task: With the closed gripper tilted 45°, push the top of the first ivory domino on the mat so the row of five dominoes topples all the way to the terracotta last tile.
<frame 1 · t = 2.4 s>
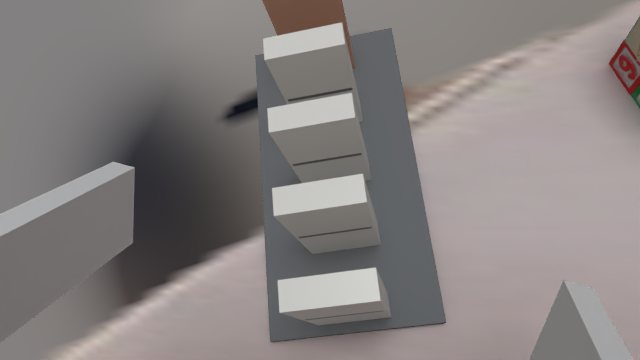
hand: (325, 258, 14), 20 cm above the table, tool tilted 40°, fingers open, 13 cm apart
domino 4: (330, 118, 38), point 1 cm above the table, touching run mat
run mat: (338, 172, 37), on the table
domino 2: (344, 238, 34), point 1 cm above the table, touching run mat
domino 5: (324, 66, 40), point 1 cm above the table, touching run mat
domino 1: (353, 309, 32), point 1 cm above the table, touching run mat
domino 3: (337, 175, 36), point 1 cm above the table, touching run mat
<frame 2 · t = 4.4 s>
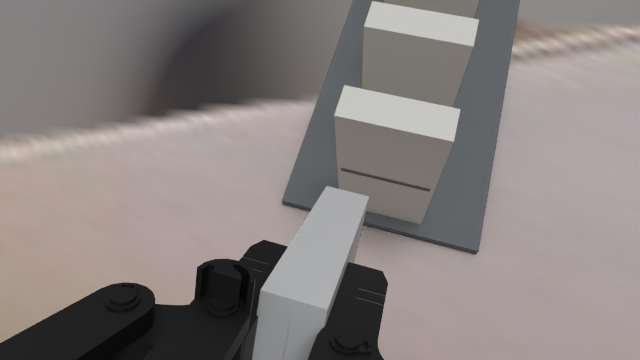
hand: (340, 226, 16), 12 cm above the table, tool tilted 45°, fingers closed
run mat: (416, 73, 33), on the table
domino 2: (400, 133, 31), point 1 cm above the table, touching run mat
domino 1: (382, 202, 29), point 1 cm above the table, touching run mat
domino 3: (416, 73, 33), point 1 cm above the table, touching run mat
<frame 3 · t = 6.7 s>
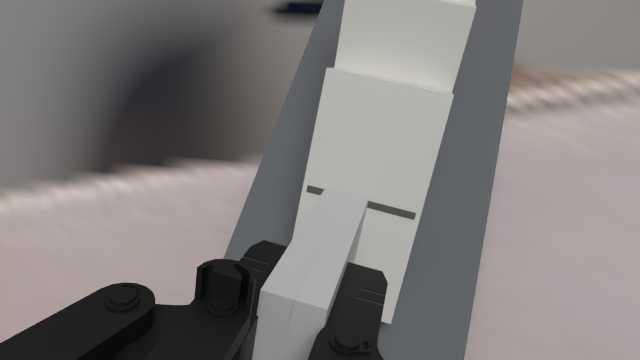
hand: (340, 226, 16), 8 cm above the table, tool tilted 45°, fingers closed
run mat: (387, 128, 26), on the table
domino 2: (364, 204, 23), point 1 cm above the table, tilted 38°, touching domino 3, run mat
domino 1: (338, 299, 21), point 1 cm above the table, tilted 51°
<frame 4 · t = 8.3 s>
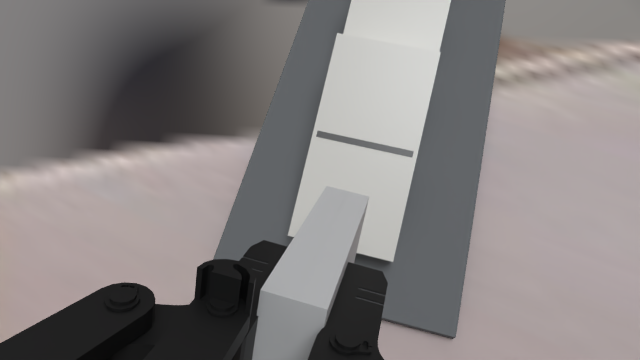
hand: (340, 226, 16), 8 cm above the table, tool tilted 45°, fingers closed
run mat: (380, 101, 27), on the table
domino 2: (364, 157, 24), point 1 cm above the table, tilted 72°, touching domino 1, domino 3, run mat
domino 1: (340, 247, 22), point 1 cm above the table, tilted 71°, touching domino 2, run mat
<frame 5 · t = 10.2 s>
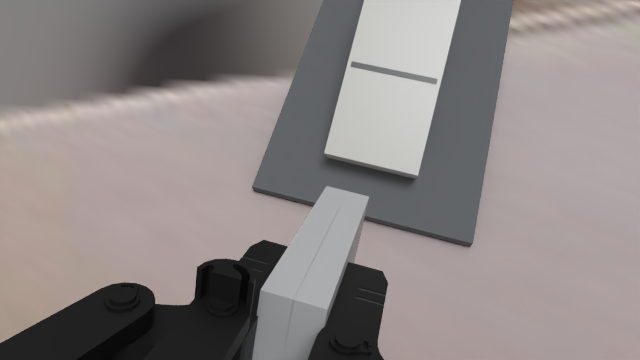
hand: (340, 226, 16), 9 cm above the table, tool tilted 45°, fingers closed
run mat: (404, 47, 30), on the table
domino 1: (370, 166, 25), point 1 cm above the table, tilted 71°, touching domino 2, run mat
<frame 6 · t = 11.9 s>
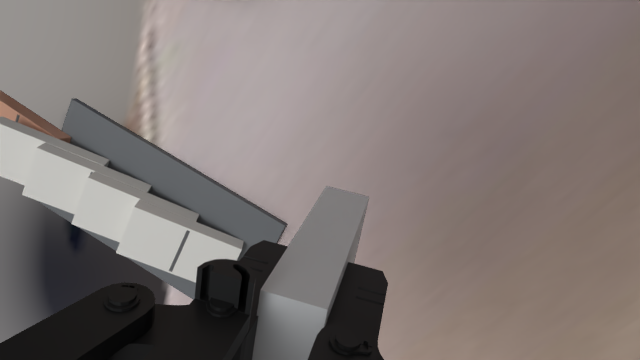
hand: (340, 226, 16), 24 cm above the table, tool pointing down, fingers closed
domino 4: (98, 184, 45), point 1 cm above the table, tilted 70°, touching domino 3, domino 5
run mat: (157, 211, 46), on the table
domino 2: (187, 239, 44), point 1 cm above the table, tilted 72°, touching domino 1, domino 3, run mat
domino 5: (57, 160, 46), point 1 cm above the table, tilted 94°, touching domino 4, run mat
domino 1: (232, 266, 44), point 1 cm above the table, tilted 71°, touching domino 2, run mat
domino 3: (140, 210, 45), point 1 cm above the table, tilted 70°, touching domino 2, domino 4, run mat
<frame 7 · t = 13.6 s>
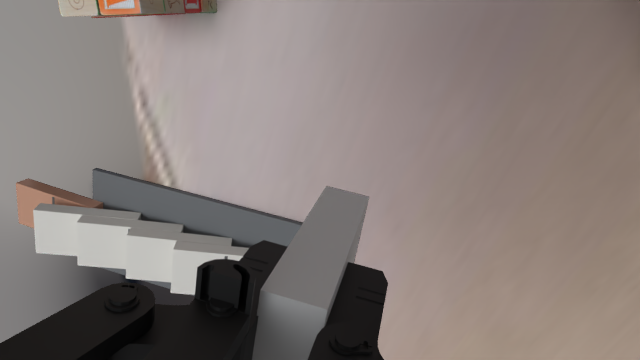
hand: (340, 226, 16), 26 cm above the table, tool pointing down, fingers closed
domino 4: (138, 236, 50), point 1 cm above the table, tilted 70°, touching domino 3, domino 5
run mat: (195, 245, 51), on the table
domino 2: (229, 262, 49), point 1 cm above the table, tilted 72°, touching domino 1, domino 3, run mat
domino 5: (97, 225, 51), point 1 cm above the table, tilted 94°, touching domino 4, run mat
domino 1: (274, 275, 48), point 1 cm above the table, tilted 71°, touching domino 2, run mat
domino 3: (181, 249, 49), point 1 cm above the table, tilted 70°, touching domino 2, domino 4, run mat
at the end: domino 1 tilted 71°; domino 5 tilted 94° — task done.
